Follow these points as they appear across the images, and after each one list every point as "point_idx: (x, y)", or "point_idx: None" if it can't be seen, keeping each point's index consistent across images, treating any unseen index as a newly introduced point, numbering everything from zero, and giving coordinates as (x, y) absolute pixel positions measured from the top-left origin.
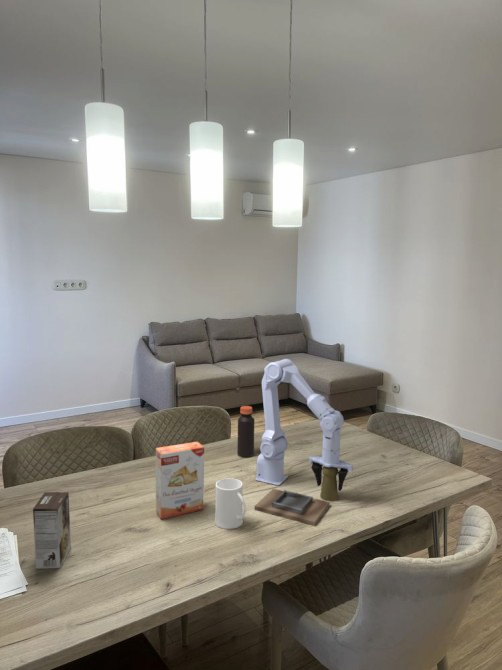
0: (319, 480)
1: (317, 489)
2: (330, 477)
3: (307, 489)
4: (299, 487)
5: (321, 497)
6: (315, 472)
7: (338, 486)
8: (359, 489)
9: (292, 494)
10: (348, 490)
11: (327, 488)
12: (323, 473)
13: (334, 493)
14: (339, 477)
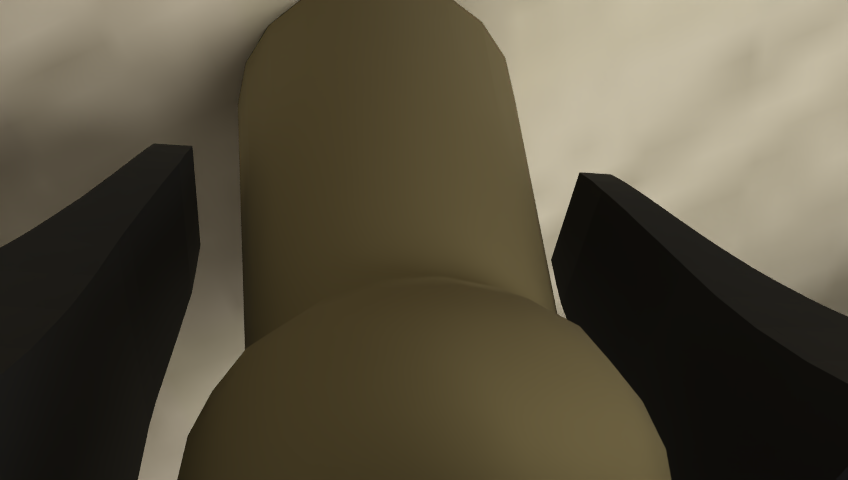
0: (613, 250)
1: None
2: (363, 284)
3: (696, 202)
4: (798, 211)
5: (487, 33)
6: (831, 331)
7: (160, 176)
8: None
9: None
10: (197, 361)
11: (405, 92)
12: (601, 353)
13: (267, 94)
14: (24, 314)
